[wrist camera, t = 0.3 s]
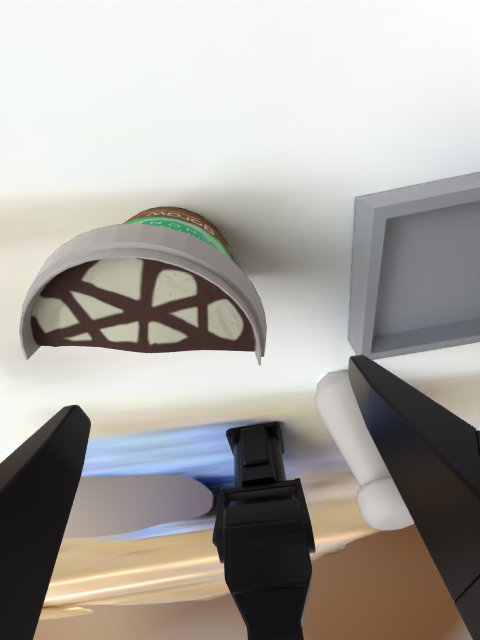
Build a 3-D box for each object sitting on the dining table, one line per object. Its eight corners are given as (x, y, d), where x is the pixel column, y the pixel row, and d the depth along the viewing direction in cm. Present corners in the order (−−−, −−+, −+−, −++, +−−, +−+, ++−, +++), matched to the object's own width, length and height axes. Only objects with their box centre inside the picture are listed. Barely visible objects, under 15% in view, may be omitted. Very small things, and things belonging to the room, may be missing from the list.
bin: (489, 315, 26) (516, 335, 24) (348, 340, 27) (360, 361, 25) (552, 157, 19) (602, 162, 16) (355, 197, 20) (374, 208, 17)
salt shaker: (370, 387, 31) (448, 525, 21) (323, 408, 33) (372, 545, 22) (351, 355, 28) (430, 497, 18) (300, 380, 30) (344, 523, 19)
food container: (263, 195, 19) (294, 250, 11) (252, 277, 23) (271, 365, 15) (71, 179, 18) (-52, 228, 10) (92, 268, 22) (13, 359, 13)
